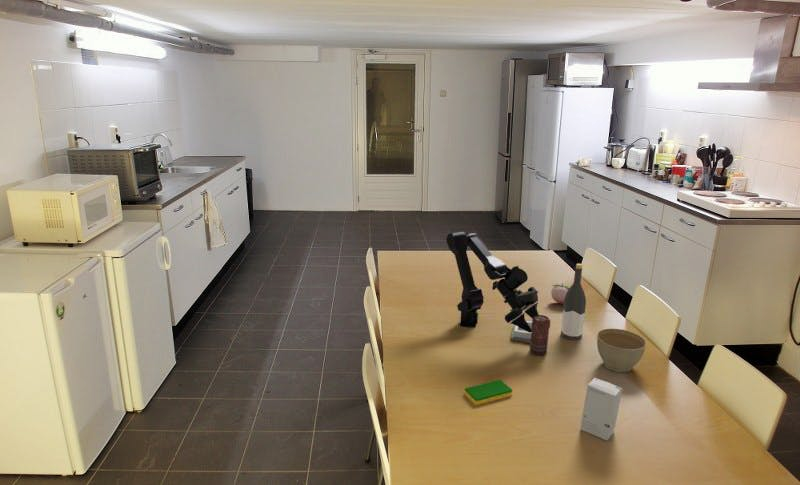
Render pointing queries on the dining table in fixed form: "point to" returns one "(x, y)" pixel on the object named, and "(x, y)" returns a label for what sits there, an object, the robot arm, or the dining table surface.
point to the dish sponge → (488, 392)
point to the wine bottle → (574, 308)
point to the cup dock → (521, 333)
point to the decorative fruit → (559, 292)
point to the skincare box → (601, 408)
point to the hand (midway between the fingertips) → (535, 327)
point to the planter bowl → (620, 349)
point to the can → (539, 335)
